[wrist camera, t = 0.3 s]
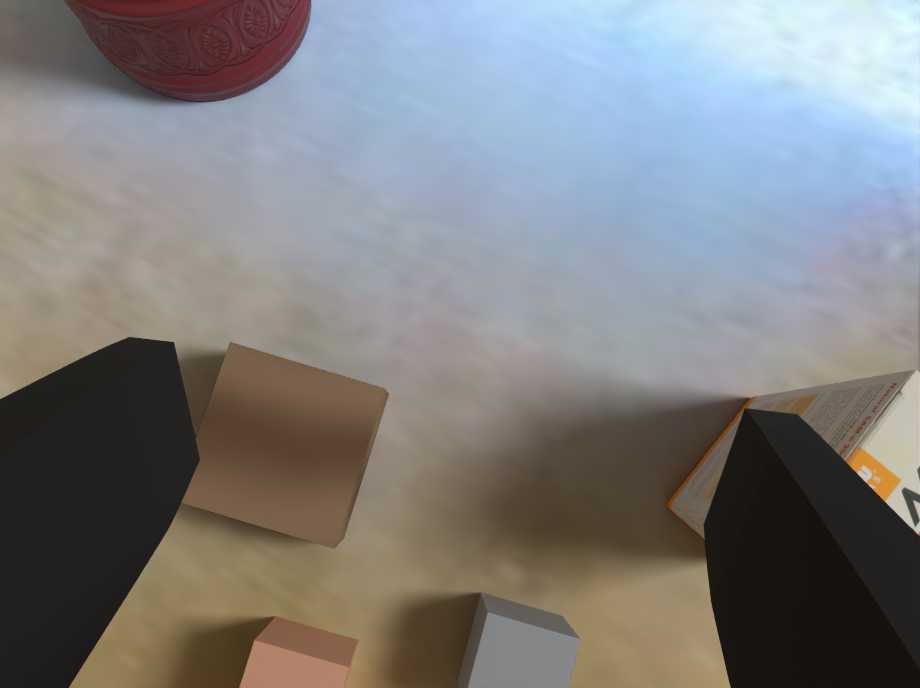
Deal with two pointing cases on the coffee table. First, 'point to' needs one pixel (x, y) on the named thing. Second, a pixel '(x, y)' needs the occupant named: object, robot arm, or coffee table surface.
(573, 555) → the coffee table surface
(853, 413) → the supplement box
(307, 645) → the terracotta cube
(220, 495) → the walnut block
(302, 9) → the canister
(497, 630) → the slate grey cube
